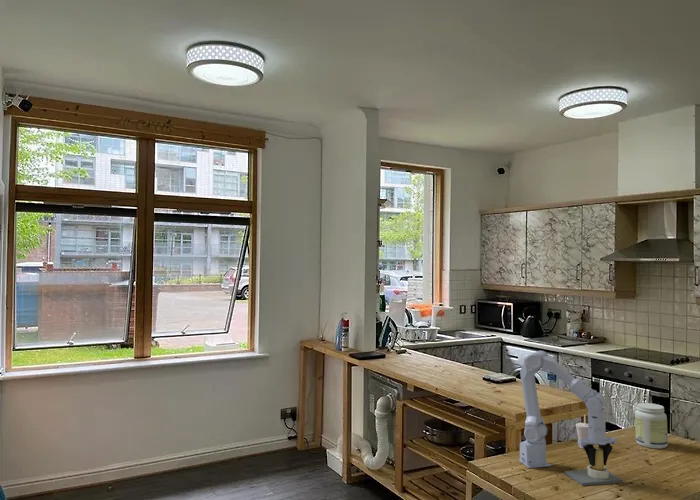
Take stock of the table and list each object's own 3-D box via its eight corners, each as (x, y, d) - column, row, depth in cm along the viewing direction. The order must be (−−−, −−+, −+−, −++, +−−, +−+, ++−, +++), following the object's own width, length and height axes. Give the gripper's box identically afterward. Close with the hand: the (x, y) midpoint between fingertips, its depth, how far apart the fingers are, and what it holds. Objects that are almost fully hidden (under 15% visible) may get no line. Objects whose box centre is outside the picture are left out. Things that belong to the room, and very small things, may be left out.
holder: (582, 485, 184) (582, 475, 184) (564, 474, 194) (564, 464, 194) (623, 482, 186) (622, 472, 186) (603, 471, 197) (603, 461, 197)
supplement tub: (670, 444, 227) (669, 405, 228) (664, 451, 218) (663, 410, 219) (639, 438, 235) (638, 400, 236) (632, 445, 226) (631, 406, 227)
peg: (596, 473, 188) (595, 451, 189) (589, 469, 192) (588, 447, 193) (606, 473, 189) (605, 450, 189) (599, 469, 193) (598, 447, 193)
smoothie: (594, 450, 220) (593, 417, 220) (578, 449, 221) (577, 416, 222) (590, 445, 226) (589, 413, 227) (574, 444, 227) (573, 412, 228)
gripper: (585, 431, 186) (586, 470, 186) (621, 429, 189) (622, 467, 188) (573, 426, 193) (574, 463, 193) (609, 423, 196) (610, 460, 195)
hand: (597, 464), depth 191 cm, fingers closed on peg, 4 cm apart
